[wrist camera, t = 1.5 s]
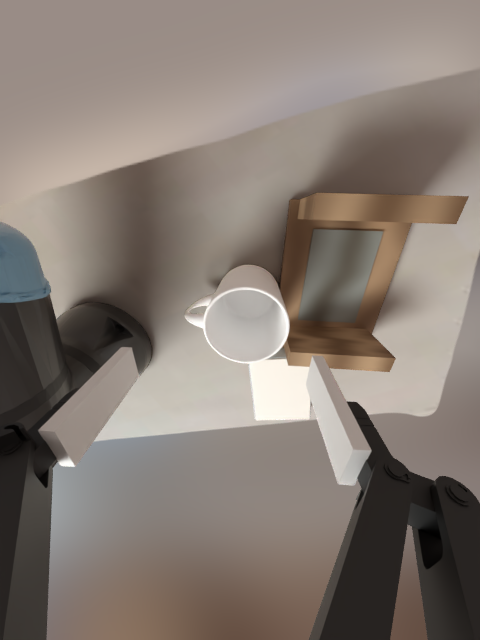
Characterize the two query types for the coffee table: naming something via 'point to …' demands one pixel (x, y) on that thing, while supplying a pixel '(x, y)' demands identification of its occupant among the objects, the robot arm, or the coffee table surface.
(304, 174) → the coffee table surface
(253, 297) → the mug
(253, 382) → the white rectangular block
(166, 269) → the coffee table surface
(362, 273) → the cradle
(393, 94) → the coffee table surface
